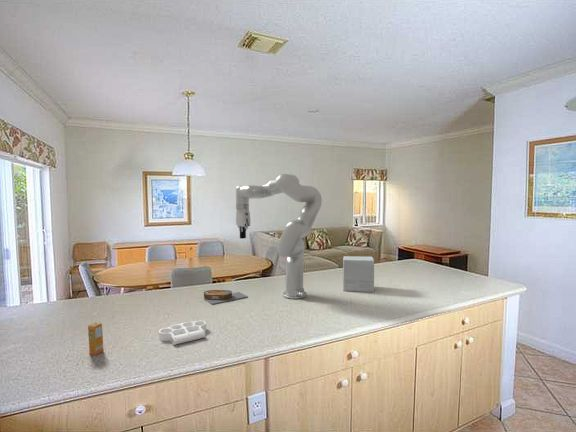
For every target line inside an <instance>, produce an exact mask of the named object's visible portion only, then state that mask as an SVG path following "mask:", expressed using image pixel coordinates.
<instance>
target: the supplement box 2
mask: <svg viewBox="0 0 576 432" xmlns="http://www.w3.org/2000/svg"><path fill="white" fill-rule="evenodd" d="M342 262H343V263H342V267H343V268H342V274H343V275H342V290H343V292H361V293H362V292H365V293H366V292H367V293H374V292H375V260H374V257H373V256H363V255H362V256H356V255H354V256H353V255H352V256H351V255H348V256H347V255H344V256H343V258H342Z"/></svg>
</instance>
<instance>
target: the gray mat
mask: <svg viewBox="0 0 576 432" xmlns="http://www.w3.org/2000/svg"><path fill="white" fill-rule="evenodd" d="M247 298H249V297H248V295H247V294H244V293H242V292H240V291H239V292H232V297H231V298H229V299H205V298H204V301H206V302H207V303H208V304H210V305H213V306H214V305H219V304H223V303H227V302H233V301H237V300H242V299H247Z"/></svg>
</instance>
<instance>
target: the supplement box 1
mask: <svg viewBox="0 0 576 432" xmlns="http://www.w3.org/2000/svg"><path fill="white" fill-rule="evenodd" d="M87 332H88V335H87V336H88V346H89V347H88V349H89V350H88V351H89V353H88V354H90V355H94V356H97V355H99V354H101V353H103V352H104V336H103V335H104V334H103V323H102V322H100V323H99V322H93V323H91V324H88V325H87Z"/></svg>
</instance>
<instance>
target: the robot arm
mask: <svg viewBox="0 0 576 432" xmlns="http://www.w3.org/2000/svg"><path fill="white" fill-rule="evenodd" d="M278 194H285V195H286V196H288V197H289V198H290V199H291V200H293V201H295V202H296V203H305V204H304V206H303V207H302V208H301V209H300V213H299V215H298V217H297V219H295V220H290V221H289V222H287V224H286V225H285V226H284V229H283V231H282V233H281V235H280V238H279V240H278V243H277V253H278V254H279V256H281V257H282V258H285V291H284V292H283V293H282V296H283V298H287V299H292V300H298V299H303V298H305V297H307V292H306V291H305V288H304V257H305V251H306V246H305V242H304V240H303V239H302V238H306V237H307V236H309V234H310V232H311V230H312V228H313V226H314V223H315V220H316V218H317V216H318V213H319V212H320V210H321V206H322V203H323V202H322V201H323V200H322V195H321V192H320V190H318V189H317V188H316V187H314V186H312V185H304V184H303V185H302V184H300V179H299V178H298V176H296V175H295V174H290V173H289V174H288V173H281V174H280V175H277V177H275V178H272V179H270V180H269V181H268V183H266V184H263V185H238V186H236V188H235V210H236V212H235V213H236V214H235V225H236V226H237V228H238V231H239V239H246V238H247V230H248V229H249V227H250V226H251V213H250V199H251V200H252V199H259V200H260V199H264V198H268V197H273V196H275V195H278Z"/></svg>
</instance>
